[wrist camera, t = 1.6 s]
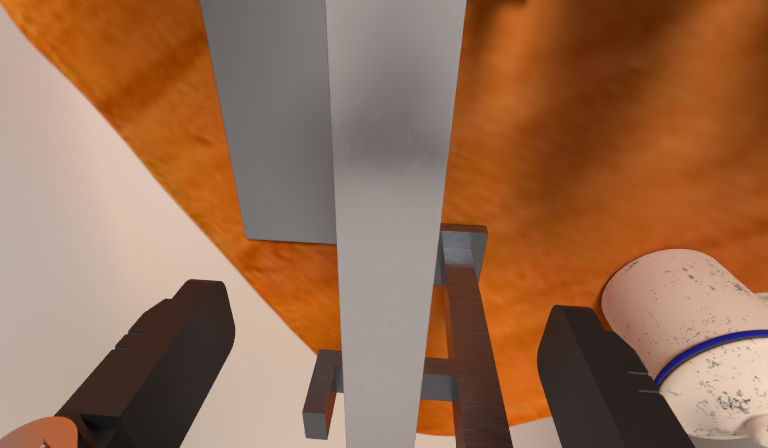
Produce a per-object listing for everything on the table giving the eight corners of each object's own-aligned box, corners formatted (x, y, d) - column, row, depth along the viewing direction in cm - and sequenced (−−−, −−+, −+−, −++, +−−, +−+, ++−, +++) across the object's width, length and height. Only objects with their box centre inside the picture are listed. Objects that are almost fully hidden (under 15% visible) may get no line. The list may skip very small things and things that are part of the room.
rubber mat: (160, -240, 17) (152, -247, 17) (315, -240, 17) (312, -247, 16) (248, 234, 30) (245, 238, 29) (337, 239, 30) (336, 244, 29)
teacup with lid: (602, 342, 33) (682, 492, 23) (589, 262, 29) (679, 402, 19) (765, 310, 30) (937, 467, 20) (776, 216, 26) (999, 354, 16)
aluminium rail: (340, -290, 8) (305, -422, 6) (484, -292, 8) (516, -427, 5) (355, 405, 20) (347, 464, 18) (412, 410, 20) (411, 470, 18)
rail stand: (340, -147, 18) (-71, -914, 3) (555, -144, 18) (1486, -1059, 2) (351, 271, 31) (288, 543, 16) (475, 279, 31) (536, 568, 15)
